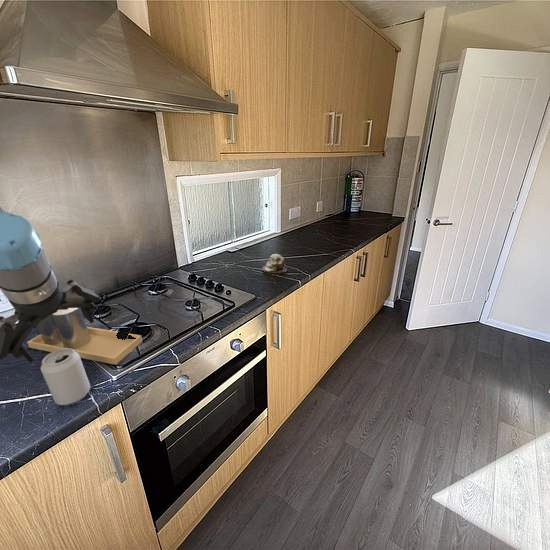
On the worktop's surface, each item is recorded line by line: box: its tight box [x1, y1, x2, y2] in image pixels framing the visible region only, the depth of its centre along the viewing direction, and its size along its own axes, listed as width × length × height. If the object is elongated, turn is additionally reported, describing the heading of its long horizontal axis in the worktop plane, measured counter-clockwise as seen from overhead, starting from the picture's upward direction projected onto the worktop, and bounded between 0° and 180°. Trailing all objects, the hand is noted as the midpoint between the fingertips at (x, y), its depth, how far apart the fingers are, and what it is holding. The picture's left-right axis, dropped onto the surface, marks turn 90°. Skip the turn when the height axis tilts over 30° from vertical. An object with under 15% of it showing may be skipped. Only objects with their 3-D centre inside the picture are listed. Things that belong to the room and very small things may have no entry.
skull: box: [261, 253, 288, 275], centre depth 142 cm, size 12×10×10 cm
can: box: [40, 348, 91, 406], centre depth 69 cm, size 8×8×12 cm
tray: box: [26, 326, 143, 366], centre depth 90 cm, size 32×11×2 cm, turn 74°
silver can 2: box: [52, 308, 90, 349], centre depth 89 cm, size 7×7×12 cm
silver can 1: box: [36, 315, 62, 345], centre depth 91 cm, size 7×7×12 cm
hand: (60, 337), depth 68 cm, fingers open, 13 cm apart
